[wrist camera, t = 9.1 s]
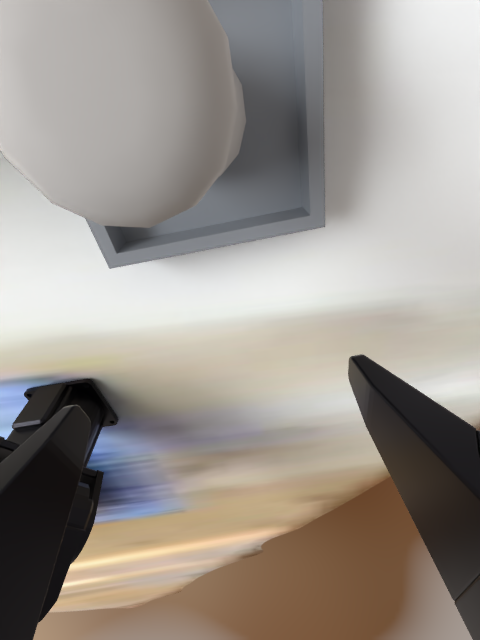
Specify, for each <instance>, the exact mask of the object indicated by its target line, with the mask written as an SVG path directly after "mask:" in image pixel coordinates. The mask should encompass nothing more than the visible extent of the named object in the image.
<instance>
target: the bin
mask: <svg viewBox="0 0 480 640" xmlns="http://www.w3.org/2000/svg"><path fill="white" fill-rule="evenodd" d="M208 2H209V3H210V5H211V7H212V9H213V11H214V13H215V14H216V16H217V18H218V20H219V22H220V24H221V26H222V27H223V29H224V31H225V33H226V35H227V37H228V40H229V48H230V55H231V63H232V68H233V70H234V72H235V74H236V75H237V77H238V79H239V81H240V82H241V84H242V90H243V99H244V107H245V116H246V124H245V128H244V133H243V137H242V142H241V146H240V151H239V154H238V155H237V156H236V158H235V159H234V160H233V161H232V163H231V164H230V165H229V166H228V168H227V169H226V170H225V171H224V173H223V174H222V175H221V176H219V177H218V178H217V179H216V181H215V182H214V183H213V185H212V186H211V187H210V188H209V190H208V191H207V192H206V194H205V195H204V196H203V197H202V199H201V200H200V201H199V203H198V204H197V205H196V206H194V207H192V208H190V209H188V210H186V211H184V212H182V213H180V214H178V215H175V216H173V217H171V218H169V219H167V220H165V221H163V222H161V223H159V224H157V225H155V226H152V227H150V228H142V227H121V226H102V225H100V224H98V223H95V222H93V221H91V220H89V219H86V218H85V219H86V221H87V223H88V225H89V227H90V229H91V231H92V233H93V235H94V237H95V239H96V241H97V243H98V245H99V248H100V250H101V252H102V254H103V256H104V258H105V260H106V262H107V264H108V266H109V268H110V269H111V268H116V267H121V266H126V265H131V264H136V263H142V262H147V261H152V260H157V259H162V258H167V257H172V256H178V255H183V254H188V253H193V252H198V251H203V250H208V249H214V248H219V247H224V246H229V245H234V244H239V243H244V242H249V241H255V240H260V239H265V238H270V237H275V236H280V235H285V234H291V233H296V232H301V231H306V230H311V229H316V228H321V227H325V188H324V86H323V0H208Z"/></svg>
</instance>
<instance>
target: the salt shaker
mask: <svg viewBox="0 0 480 640" xmlns="http://www.w3.org/2000/svg"><path fill="white" fill-rule="evenodd" d="M245 124H246V116H245V107H244V99H243V90H242V84H241V82H240V81H239V79H238V77H237V75H236V74H235V72H234V70H233V68H232V63H231V55H230V48H229V40H228V37H227V35H226V33H225V31H224V29H223V27H222V26H221V24H220V22H219V20H218V18H217V16H216V14H215V13H214V11H213V9H212V7H211V5H210V3H209V2H208V0H0V150H1V152H2V154H3V156H4V157H5V158H6V159H7V160H8V161H9V162H10V163H11V164H12V165H13V166H14V167H15V168H16V169H17V170H18V171H19V172H20V173H21V174H22V175H23V176H24V177H26V178H27V179H28V180H29V181H30V182H31V183H32V184H33V185H34V186H35V187H36V188H37V189H38V190H39V191H40V192H41V193H42V194H43V195H44V196H45V197H46V198H47V199H48V200H49V201H50V202H51V203H53V204H55V205H58V206H60V207H62V208H64V209H66V210H69V211H71V212H73V213H75V214H78V215H80V216H82V217H84V218H86V219H89V220H91V221H93V222H95V223H98V224H100V225H102V226H121V227H142V228H150V227H152V226H155V225H157V224H159V223H161V222H163V221H165V220H167V219H169V218H171V217H173V216H175V215H178V214H180V213H182V212H184V211H186V210H188V209H190V208H192V207H194V206H196V205H197V204H198V203H199V201H200V200H201V199H202V197H203V196H204V195H205V194H206V192H207V191H208V190H209V188H210V187H211V186H212V185H213V183H214V182H215V181H216V179H217V178H218V177H219V176H221V175H222V174H223V173H224V171H225V170H226V169H227V168H228V166H229V165H230V164H231V163H232V161H233V160H234V159H235V158H236V156H237V155H238V154H239V151H240V146H241V142H242V137H243V133H244V128H245Z"/></svg>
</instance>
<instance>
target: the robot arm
mask: <svg viewBox="0 0 480 640" xmlns="http://www.w3.org/2000/svg"><path fill="white" fill-rule="evenodd" d="M348 377H349V381H350V384H351V387H352V390H353V392H354V395H355V398H356V400H357V403H358V406H359V409H360V411H361V414H362V417H363V419H364V422H365V425H366V427H367V429H368V431H369V433H370V435H371V437H372V439H373V441H374V443H375V445H376V447H377V449H378V451H379V453H380V455H381V457H382V459H383V461H384V463H385V465H386V467H387V469H388V471H389V473H390V475H391V477H392V479H393V481H394V483H395V485H396V487H397V489H398V491H399V493H400V495H401V497H402V499H403V501H404V503H405V505H406V507H407V509H408V511H409V513H410V515H411V517H412V519H413V521H414V523H415V525H416V527H417V529H418V531H419V533H420V535H421V537H422V539H423V541H424V543H425V545H426V546H427V549H428V551H429V553H430V555H431V557H432V559H433V561H434V563H435V565H436V567H437V569H438V571H439V572H440V575H441V576H442V579H443V580H444V583H445V585H446V587H447V589H448V591H449V592H450V594H451V597H452V598H453V600H454V601H455V605H456V607H457V609H458V611H459V613H460V615H461V617H462V619H463V621H464V623H465V625H466V627H467V629H468V631H469V633H470V635H471V637H472V639H473V640H480V431H479V430H477V431H476V428H474V427H473V426H471V425H470V424H468V423H467V422H465V421H464V420H462V419H461V418H459V417H458V416H456V415H455V414H453V413H452V412H450V411H449V410H447V409H446V408H444V407H443V406H441V405H439V404H438V403H436V402H435V401H433V400H432V399H430V398H429V397H427V396H426V395H424V394H423V393H421V392H420V391H418V390H417V389H415V388H414V387H412V386H411V385H409V384H408V383H406V382H404V381H403V380H401V379H400V378H398V377H397V376H395V375H394V374H392V373H391V372H389V371H388V370H386V369H385V368H383V367H382V366H380V365H379V364H377V363H376V362H374V361H372V360H371V359H369V358H368V357H366V356H365V355H355V356H351V357H350V358H349V369H348ZM24 396H25V397H26V398H27V399H28V400H29V401H28V403H27V404H26V406H25V407H24V409H23V410H22V411H21V413H20V414H19V416H18V417H17V418H16V420H15V421H14V423H13V425H12V428H13V429H14V430H13V431H12V432H11V434H10V435H9V437H8V438H7V440H5V439H4V438H3V437H1V436H0V640H33V637H34V634H35V630H36V627H37V624H38V622H40V621H41V620H42V619H43V618H44V617H45V615H46V614H47V613H48V612H49V610H50V609H51V608H52V606H53V605H54V604H55V603H56V601H57V599H58V596H59V594H60V591H61V588H62V585H63V582H64V580H65V577H66V574H67V572H68V569H69V566H70V564H71V563H72V562H74V560H75V559H76V558H77V557H78V555H79V554H80V552H81V551H82V549H83V547H84V545H85V543H86V541H87V539H88V537H89V534H90V532H91V530H92V527H93V524H94V520H95V516H96V511H97V506H98V500H99V495H100V490H101V484H102V479H103V474H104V472H102V471H99V470H97V471H95V470H92V469H89V468H86V466H87V464H88V461H89V459H90V456H91V454H92V451H93V449H94V446H95V444H96V441H97V439H98V436H99V434H100V431H101V429H102V427H105V426H112V425H116V424H117V422H118V417H117V416H116V415H115V413H114V412H113V410H112V409H111V407H110V406H109V404H108V403H107V401H106V400H105V399H104V397H103V396H102V394H101V393H100V391H99V390H98V388H97V387H96V386H95V384H94V383H93V381H92V380H90V379H83V380H77V381H71V382H65V383H59V384H53V385H47V386H41V387H36V388H30V389H27V390H26V392H25V393H24Z"/></svg>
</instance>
